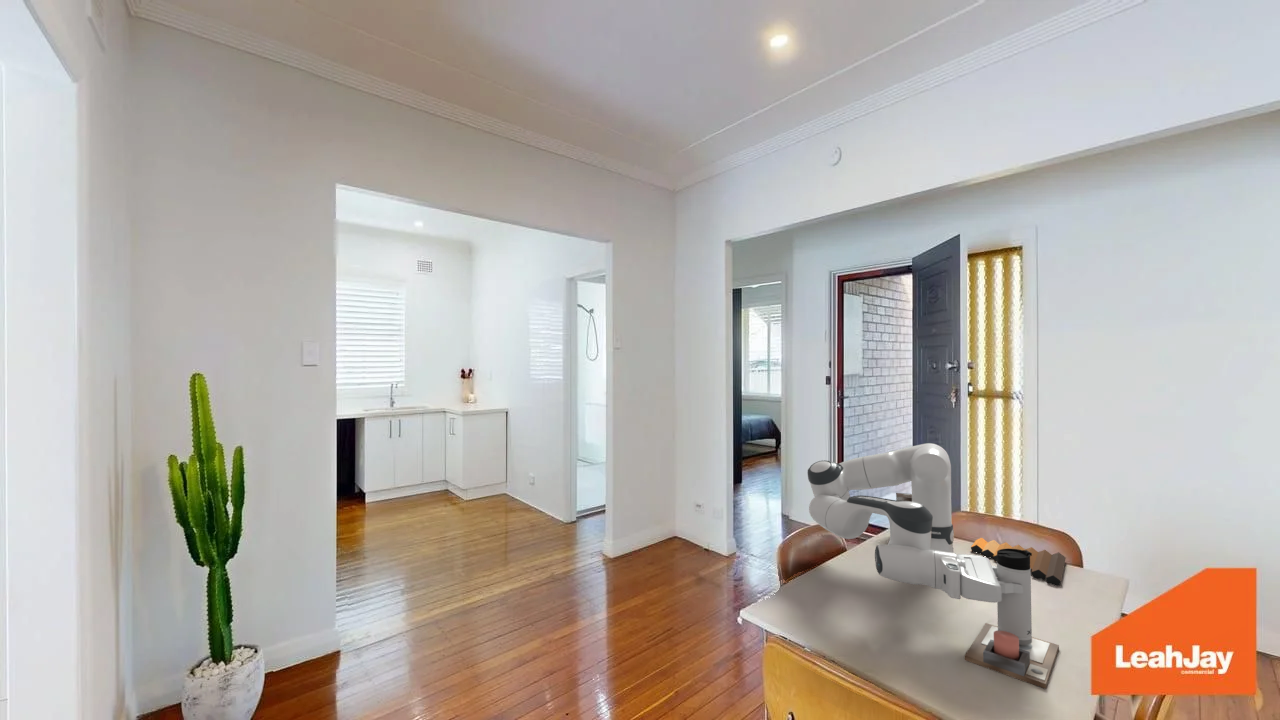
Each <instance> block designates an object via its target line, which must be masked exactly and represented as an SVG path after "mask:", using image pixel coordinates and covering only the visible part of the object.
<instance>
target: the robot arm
mask: <svg viewBox="0 0 1280 720" xmlns="http://www.w3.org/2000/svg"><path fill="white" fill-rule="evenodd" d="M807 479H808V482H809V483H810V487H811V491H812V493H813V496H814V497H813V498H812V499H811V501H809V502H810V503H809V505H808V512H809V515H810V517H811V519H812V520H813V521H815V523H816V524H818V525H819V526H820V527H822V528H823V529H824V530H826V531H828V532H830V533H831V534H834V535H835V536H837V537H839V538H842V539H846V540H851V539H856V538H859V537H860V536H861V535H863V533H864V532H866V530H867V528H868V527H869V523H870V519H871V517H872V514H877V515H882V516H886V518H887V520H888V522H889V536H890V537H889V541H888V543H887V544H876V546H875V550H874V562H875V568H876V571H877V573H878V575H879V576H880V577H884V578H886V579H889V580H891V581H897V582H901V583H903V584H908V585H913V586H914V585H923V586H928V587H930V588H933V589H938V590H941V591H943V592H944V593H945V594H946V595H947V596H949V597H950V598H952V599H956V600H960V599H961V598H964V599H966V600H972V601H977V602H984V603H986V602H987V603H993V604H994V603H995V604H996V603H997V602H1001V593H1005V594H1006V593H1019V594H1023V586H1022V585H1021V584H1020V583H1014V582H1012V583H1004V582H1002V581H998V579H997V565H996V566H995V565H992V563H991V561H990V558H987V557H983V555H975V554H966V553H956V552H954V545H953V543H954V539H955V535H954V533H955V532H954V531H955V530H954V525H953V524H952V464H951V460H950V456H949V454H948V452H947V451H946V450H945V449H944V448H943V447H942V446H940V445H938V444H936V443H931V442H928V443H922V444H917V445H912V446H909V447H907V446H906V447H904V448H900V449H896V450H892V451H889V452H888V451H887V452H881V453H877V454H876V453H875V454H870V455H865V456H860V457H859V456H858V457H855V458H850V459H848V460H844V461H842V462H839V463H836V462H834V461H830V460H819V461H815V462H814V463H812V464H811V465H810V467H809V468H808V469H807ZM906 483H911V484H910V486H911V494H912V502H910V501H896V499H889V498H883V497H878V496H871V495H861V494H860V495H853V496H851V495H850V492H849V491H851V490H852V491H859V490H860V491H863V490H873V489H879V488H888V487H894V486H900V485H901V484H902V485H903V484H906Z"/></svg>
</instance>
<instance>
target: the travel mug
mask: <svg viewBox="0 0 1280 720" xmlns="http://www.w3.org/2000/svg"><path fill="white" fill-rule="evenodd" d="M1030 556H1032V553H1030V552H1029V551H1027V550H1019V549H1000V550H998V551H997V562H996V566H997V579H998V581H1002V582H1004V583H1012V582H1014V583H1020V584H1021V585H1022V586H1023V594H1019V593H1006V594H1005V593H1001V602H996V603H997V606H996V607H997V608H996V609H997V626H998V631H1006V632H1009V633H1012V634H1014V635H1016V636H1017V637H1018V638H1019V645H1029V644H1031V643H1032V637H1033V636H1032V635H1033V633H1032V632H1033V630H1032V624H1033V623H1032V573H1031V572H1032V571H1031V568H1030Z"/></svg>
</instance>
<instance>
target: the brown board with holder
mask: <svg viewBox="0 0 1280 720" xmlns="http://www.w3.org/2000/svg"><path fill="white" fill-rule="evenodd" d="M994 631H998V625H994V624H992V623H987V622H985V623H984V625H983V626H982V628H981V629H980V631H979V633H978V634H977V635H976V637H975V639H974V640H973V642H972V643H971V644H970V646H969V648H968V649H967V651H966V652H965V654H964V661H965V662H970V663H972V664H975V665H978V666H980V667H984V668H986V669H988V668H989V669H988V670H991V671H994V672H996V673H997V672H998V673H1000V674H1003V675H1006V676H1008V677H1010V678H1014V679H1017V680H1020V681H1022V682H1024V683H1028V684H1030V685H1032V686H1033V685H1034V686H1037V687H1039V686H1040V687H1039V688H1042V689H1044V688H1045V690H1046V689H1047V687H1048V683H1049V681H1050V678H1051V676H1052V672H1053V669H1054V665H1055V662H1056V659H1057V657H1058V653H1059V650H1060V645H1059V644H1057V643H1053V642H1051V641H1046V640H1044V639H1040V638H1037V637H1034V636H1032V643H1031V644H1029V645H1019V660H1013V659H1010V658H1007V657H1004V656H1001V655H998V654H995V653H994Z"/></svg>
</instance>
